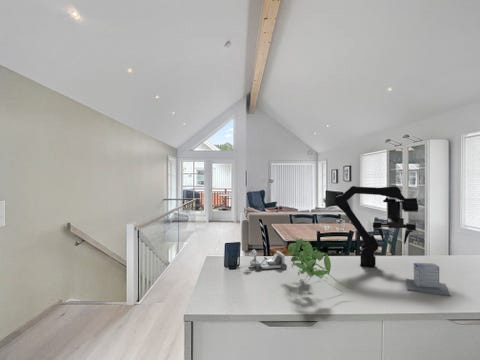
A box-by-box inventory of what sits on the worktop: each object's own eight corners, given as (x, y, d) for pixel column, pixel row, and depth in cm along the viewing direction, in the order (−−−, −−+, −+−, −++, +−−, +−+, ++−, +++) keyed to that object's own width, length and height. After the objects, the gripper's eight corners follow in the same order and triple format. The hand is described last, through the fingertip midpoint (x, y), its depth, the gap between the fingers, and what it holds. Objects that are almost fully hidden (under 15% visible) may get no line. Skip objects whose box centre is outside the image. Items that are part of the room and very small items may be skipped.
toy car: (250, 251, 145) (246, 246, 157) (251, 272, 145) (246, 265, 157) (286, 249, 149) (279, 244, 160) (287, 269, 149) (279, 263, 160)
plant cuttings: (311, 288, 141) (272, 259, 140) (332, 258, 142) (294, 230, 141) (340, 323, 106) (289, 285, 105) (368, 283, 107) (318, 245, 106)
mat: (407, 290, 119) (407, 288, 119) (406, 279, 131) (406, 278, 131) (450, 296, 112) (450, 294, 112) (445, 284, 125) (445, 283, 125)
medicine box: (434, 284, 124) (434, 263, 124) (439, 288, 119) (439, 266, 119) (413, 283, 125) (413, 262, 125) (418, 287, 120) (418, 265, 120)
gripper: (371, 212, 148) (372, 244, 148) (416, 213, 139) (416, 248, 139) (373, 210, 158) (373, 240, 158) (415, 211, 149) (415, 243, 149)
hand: (393, 243), depth 151 cm, fingers open, 9 cm apart
